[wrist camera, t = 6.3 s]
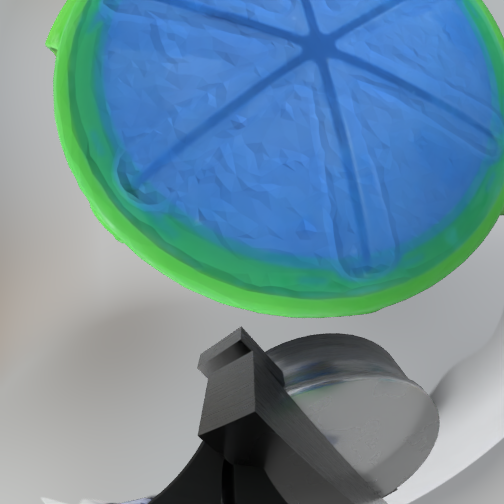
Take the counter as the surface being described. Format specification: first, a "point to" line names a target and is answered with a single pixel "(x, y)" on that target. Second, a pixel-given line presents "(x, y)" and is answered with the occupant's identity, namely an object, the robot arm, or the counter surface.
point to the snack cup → (287, 142)
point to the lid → (320, 430)
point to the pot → (303, 356)
